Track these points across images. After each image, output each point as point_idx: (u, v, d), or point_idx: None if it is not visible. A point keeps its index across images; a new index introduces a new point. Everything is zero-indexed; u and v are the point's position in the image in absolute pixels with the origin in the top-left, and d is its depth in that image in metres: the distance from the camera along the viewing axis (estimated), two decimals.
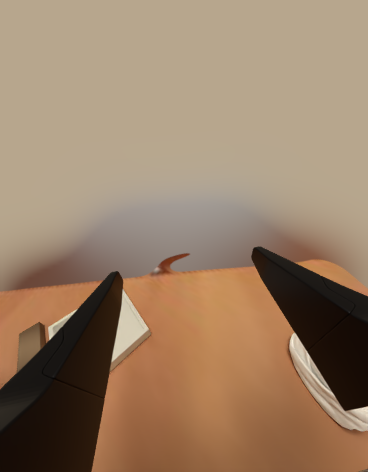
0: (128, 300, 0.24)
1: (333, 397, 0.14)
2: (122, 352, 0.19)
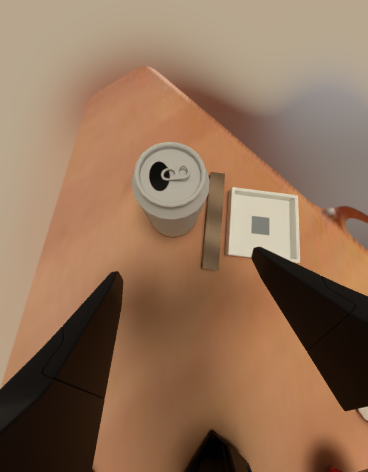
0: (297, 223, 0.23)
1: None
2: None
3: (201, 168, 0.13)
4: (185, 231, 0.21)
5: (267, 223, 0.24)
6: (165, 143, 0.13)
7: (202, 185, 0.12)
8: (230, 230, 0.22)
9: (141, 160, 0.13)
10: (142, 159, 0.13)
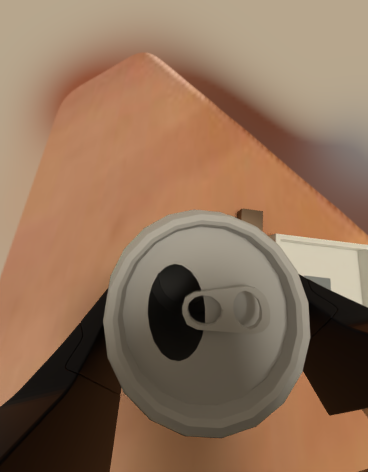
0: None
1: None
2: None
3: (295, 293, 0.05)
4: None
5: (328, 287, 0.16)
6: (192, 218, 0.05)
7: (305, 353, 0.04)
8: None
9: (126, 273, 0.04)
10: (129, 270, 0.04)
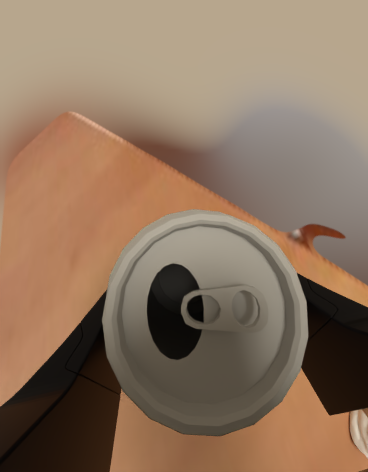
0: None
1: None
2: None
3: (293, 293, 0.05)
4: None
5: None
6: (191, 218, 0.05)
7: (303, 352, 0.04)
8: None
9: (125, 272, 0.04)
10: (128, 269, 0.04)
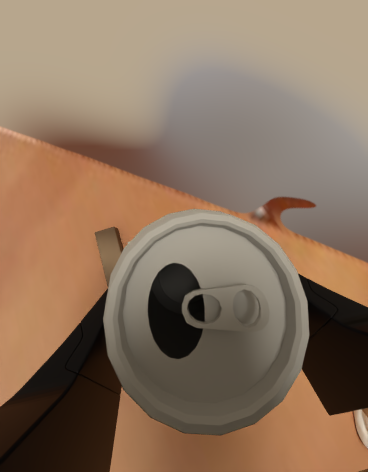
0: None
1: None
2: None
3: (294, 292, 0.05)
4: None
5: None
6: (192, 217, 0.05)
7: (303, 351, 0.04)
8: None
9: (126, 271, 0.04)
10: (129, 268, 0.04)
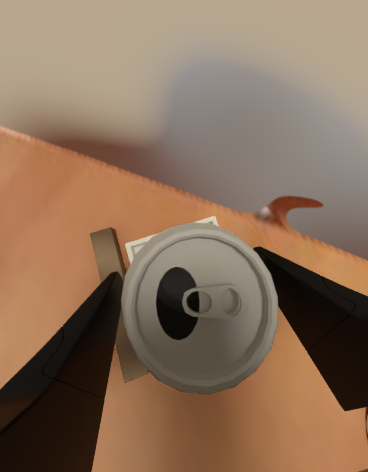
0: None
1: None
2: None
3: (268, 291, 0.06)
4: None
5: None
6: (191, 232, 0.06)
7: (273, 335, 0.06)
8: None
9: (140, 273, 0.06)
10: (142, 271, 0.06)
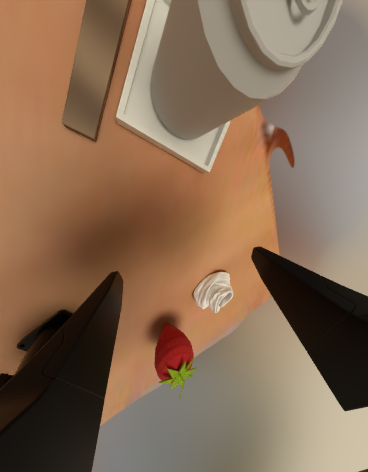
0: None
1: (205, 294, 0.25)
2: (183, 156, 0.16)
3: (324, 31, 0.07)
4: (186, 131, 0.14)
5: None
6: None
7: (301, 60, 0.07)
8: (129, 71, 0.12)
9: None
10: None
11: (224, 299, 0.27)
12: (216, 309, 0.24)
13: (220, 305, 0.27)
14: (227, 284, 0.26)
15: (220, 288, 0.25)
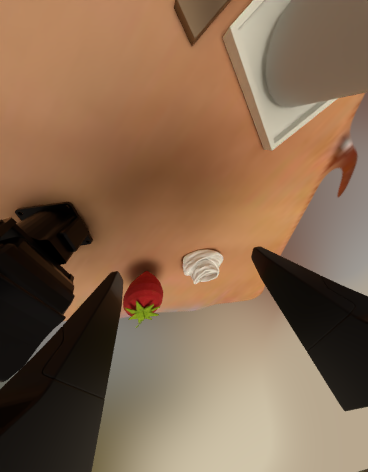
0: (325, 105, 0.16)
1: (194, 262, 0.25)
2: (260, 117, 0.15)
3: None
4: (283, 89, 0.13)
5: None
6: None
7: None
8: None
9: None
10: None
11: (206, 277, 0.28)
12: (197, 279, 0.25)
13: (200, 280, 0.28)
14: (217, 265, 0.26)
15: (210, 264, 0.25)
